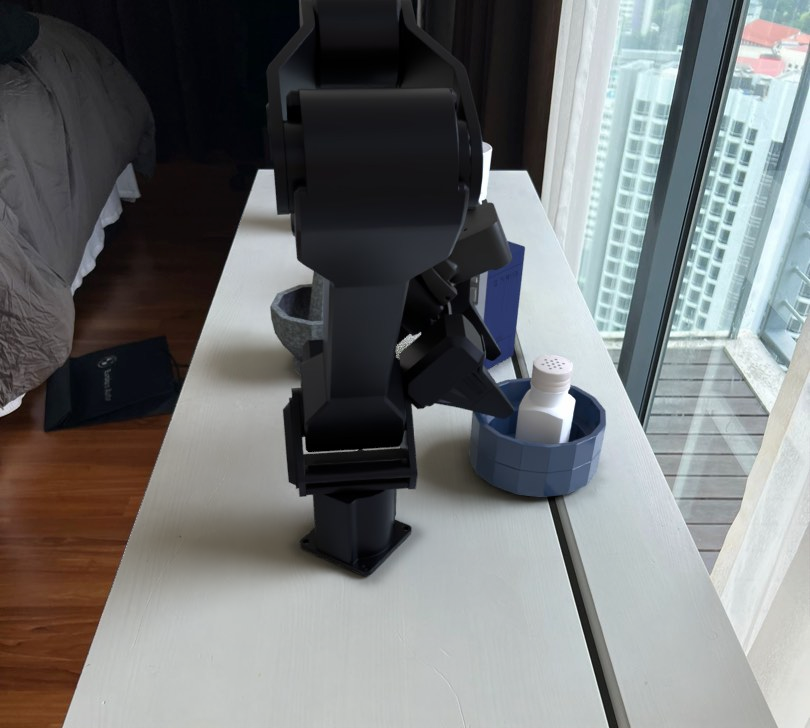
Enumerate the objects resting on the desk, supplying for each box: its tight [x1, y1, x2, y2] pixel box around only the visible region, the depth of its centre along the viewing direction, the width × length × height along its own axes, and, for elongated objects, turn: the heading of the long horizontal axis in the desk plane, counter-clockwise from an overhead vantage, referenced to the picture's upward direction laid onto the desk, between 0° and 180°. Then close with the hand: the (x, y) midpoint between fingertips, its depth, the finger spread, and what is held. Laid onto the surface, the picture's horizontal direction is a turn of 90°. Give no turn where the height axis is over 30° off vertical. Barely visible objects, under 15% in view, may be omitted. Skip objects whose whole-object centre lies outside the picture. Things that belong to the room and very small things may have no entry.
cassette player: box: [470, 240, 526, 371], centre depth 84 cm, size 7×2×12 cm, turn 137°
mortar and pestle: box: [269, 271, 324, 376], centre depth 83 cm, size 11×9×12 cm
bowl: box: [468, 377, 607, 498], centre depth 72 cm, size 11×11×6 cm
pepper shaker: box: [515, 354, 575, 444], centre depth 70 cm, size 4×4×10 cm
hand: (503, 384), depth 68 cm, fingers open, 9 cm apart
